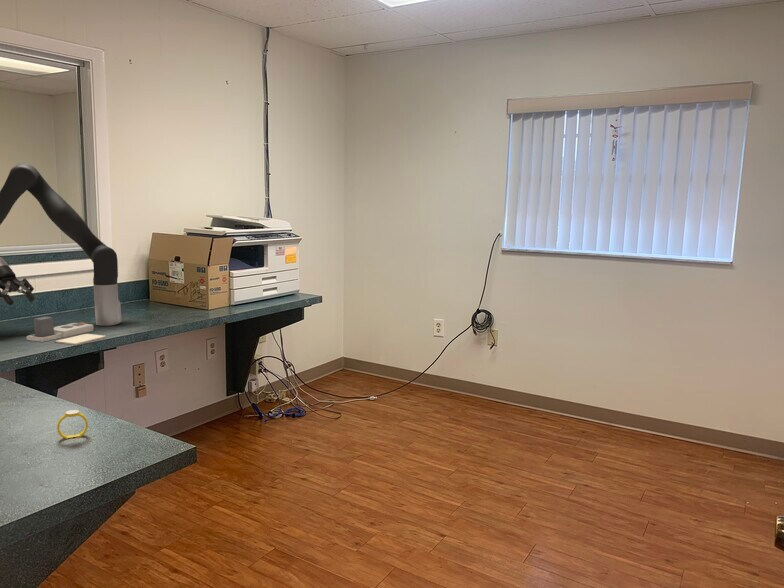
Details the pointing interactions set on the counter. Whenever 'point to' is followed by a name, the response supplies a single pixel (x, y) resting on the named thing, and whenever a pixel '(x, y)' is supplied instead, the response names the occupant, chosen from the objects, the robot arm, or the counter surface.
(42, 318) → the plug
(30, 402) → the counter surface
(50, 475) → the counter surface
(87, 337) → the rubber mat
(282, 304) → the counter surface
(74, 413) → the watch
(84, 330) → the power strip
